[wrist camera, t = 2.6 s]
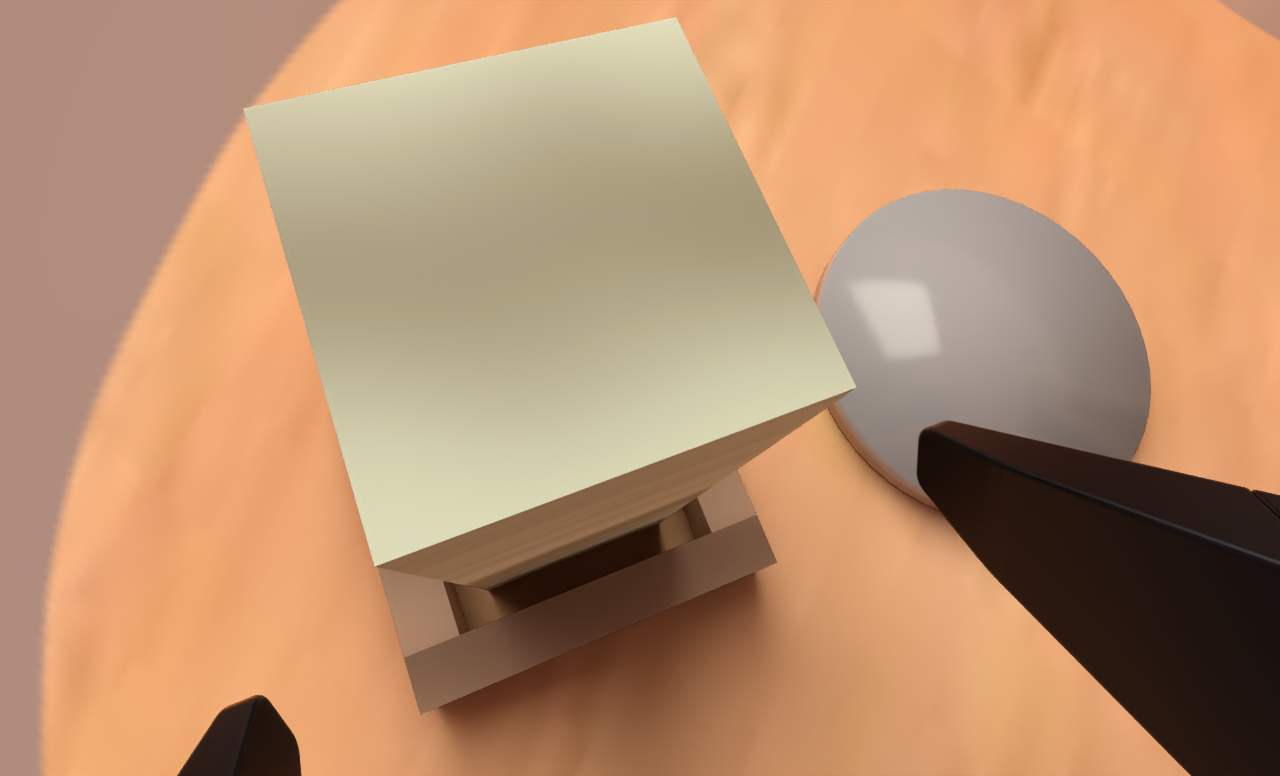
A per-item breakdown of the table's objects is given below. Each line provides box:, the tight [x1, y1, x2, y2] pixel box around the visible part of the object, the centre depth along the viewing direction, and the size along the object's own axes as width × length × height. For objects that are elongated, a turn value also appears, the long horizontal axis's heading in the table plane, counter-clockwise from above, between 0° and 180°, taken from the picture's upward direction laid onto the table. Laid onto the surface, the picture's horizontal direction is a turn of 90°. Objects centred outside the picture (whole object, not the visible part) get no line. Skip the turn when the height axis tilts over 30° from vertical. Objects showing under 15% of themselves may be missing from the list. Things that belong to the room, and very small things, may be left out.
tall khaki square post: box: [243, 17, 857, 590], centre depth 13 cm, size 5×5×13 cm
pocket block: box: [378, 470, 777, 714], centre depth 18 cm, size 9×9×2 cm
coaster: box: [814, 189, 1151, 509], centre depth 22 cm, size 11×11×1 cm
